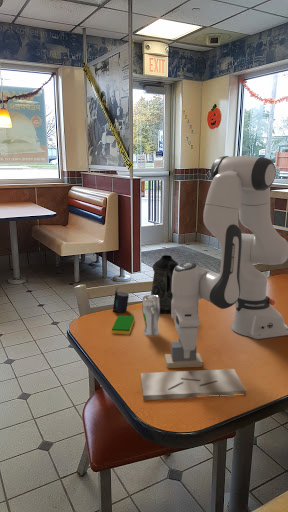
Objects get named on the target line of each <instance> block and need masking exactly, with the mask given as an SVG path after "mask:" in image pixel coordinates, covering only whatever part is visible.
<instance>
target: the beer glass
mask: <svg viewBox="0 0 288 512" xmlns="http://www.w3.org/2000/svg"><path fill="white" fill-rule="evenodd" d="M141 309H142V316H143V322H144V328H143V329H144V330H143V334H144V335H145V336H147V337H155V336H158V335H159V334H160V330H159V320H160V315H161V314H160V299H159V296H157V295H151V294H146V295H144V296H142V307H141Z"/></svg>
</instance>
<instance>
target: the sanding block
mask: <svg viewBox="0 0 288 512" xmlns="http://www.w3.org/2000/svg"><path fill="white" fill-rule="evenodd" d="M183 351H184V349H183V346H182V344H181V342H179V341H170V353H168V354H167V353H164V361H165V365H166V369H176V368H195V367H197V368H199V367H203V366H204V365H203V363H204V362H203V358H202V357H201V354H200V352H197V346H196V348H195V350H193V351H190V357H189V358H184V356H183Z"/></svg>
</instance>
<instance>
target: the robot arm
mask: <svg viewBox="0 0 288 512" xmlns="http://www.w3.org/2000/svg"><path fill="white" fill-rule="evenodd" d="M210 178H211V183H210V185H209V188H208V191H207V194H206V195H207V196H206V199H205V205H204V208H203V224H204V225H205V228H206V229H207V230H208V231H209V233H211V234H212V235H213V236H214V237H215V238H216V239H217V241H218V242H219V245H220V249H221V258H220V259H221V260H220V272H219V273H218V272H216V271H213V270H211V269H208V268H203V267H201V266H199V265H198V264H197V263H195V262H191V261H187V262H181V263H178V265H177V266H176V267H175V268H174V271H173V275H172V294H173V298H172V301H171V314H170V315H171V319H173V320H174V327H175V328H174V329H175V330H176V333H177V337H178V342H181V344H182V346H183V349H184V351H183V356H184V358H189V357H190V351H193V350H195V348H196V347H197V342H198V341H197V340H198V328H199V327H200V317H199V301H200V300H201V299H203V300H205V301H207V302H209V303H211V304H212V305H214V306H215V307H217V308H219V309H221V310H225V309H228V308H230V307H232V306H234V305H235V313H234V317H233V321H232V324H231V330H232V331H233V332H235V333H236V334H239V335H242V336H246V337H250V338H252V339H255V340H261V339H268V338H269V339H270V338H275V337H276V338H277V337H284V336H288V325H287V324H285V319H284V317H283V315H282V314H281V313H280V312H279V310H277V309H276V308H274V307H273V306H274V305H275V304H276V302H275V300H274V299H272V298H271V297H269V296H268V295H267V287H268V279H267V276H265V274H264V273H262V272H261V271H259V270H258V269H257V268H256V267H255V265H254V264H260V265H261V264H262V265H270V266H272V265H274V266H275V265H282V264H284V263H285V262H287V260H288V241H287V240H286V238H284V237H282V236H281V234H280V233H279V232H278V231H277V230H276V228H275V227H274V225H273V223H272V222H273V221H272V217H271V216H272V214H271V188H270V187H271V186H272V185H273V183H274V181H275V178H276V166H275V164H274V162H273V160H272V159H270V158H267V157H263V156H260V157H258V156H251V155H235V156H229V155H224V156H223V155H222V156H220V157H219V156H218V157H217V158H216V159H215V160H214V162H213V163H212V164H211V168H210ZM239 222H240V223H241V225H242V226H243V227H245V228H247V229H248V230H249V231H251V233H242V231H241V229H240V226H239ZM196 349H197V348H196Z"/></svg>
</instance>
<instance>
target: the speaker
mask: <svg viewBox="0 0 288 512" xmlns="http://www.w3.org/2000/svg"><path fill="white" fill-rule="evenodd" d="M118 289H119V287H118V286H116V288H115V291H114V292H115V293H114V301H113V309H112V312H113V313H114V311H116V312H117V313H122V314H123V313H126V312H127V309H128V304H129V298H130V297H129V296H130V295H129V293H127V292H125V291H118Z"/></svg>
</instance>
